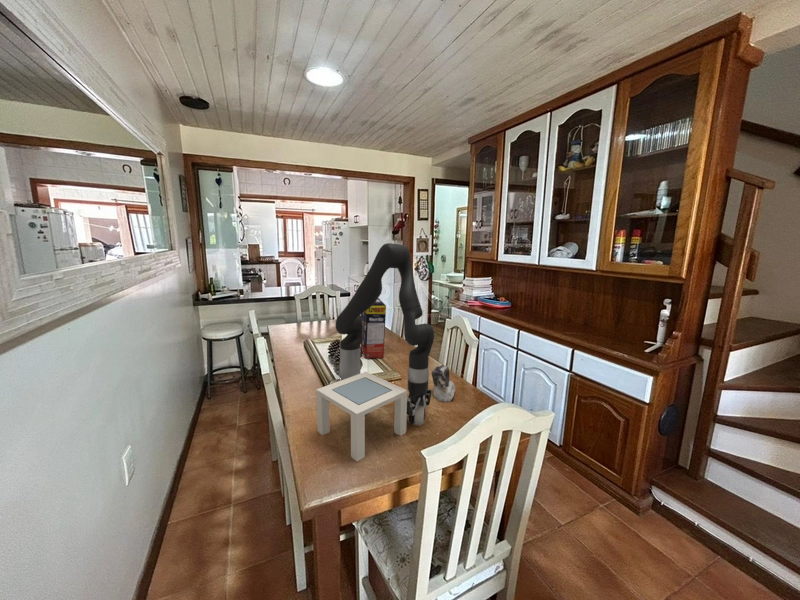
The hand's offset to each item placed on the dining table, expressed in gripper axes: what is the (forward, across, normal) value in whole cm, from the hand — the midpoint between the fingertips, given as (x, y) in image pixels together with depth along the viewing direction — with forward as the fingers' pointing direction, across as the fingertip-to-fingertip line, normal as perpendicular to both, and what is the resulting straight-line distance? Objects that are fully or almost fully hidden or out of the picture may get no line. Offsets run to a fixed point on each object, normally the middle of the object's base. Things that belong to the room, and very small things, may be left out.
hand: (416, 419), depth 124 cm
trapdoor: (-14, +19, -9) cm, 25 cm away
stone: (+1, -24, -6) cm, 25 cm away
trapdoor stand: (+1, +19, -9) cm, 21 cm away
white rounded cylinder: (+1, 0, 0) cm, 1 cm away
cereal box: (+1, -38, -69) cm, 79 cm away
